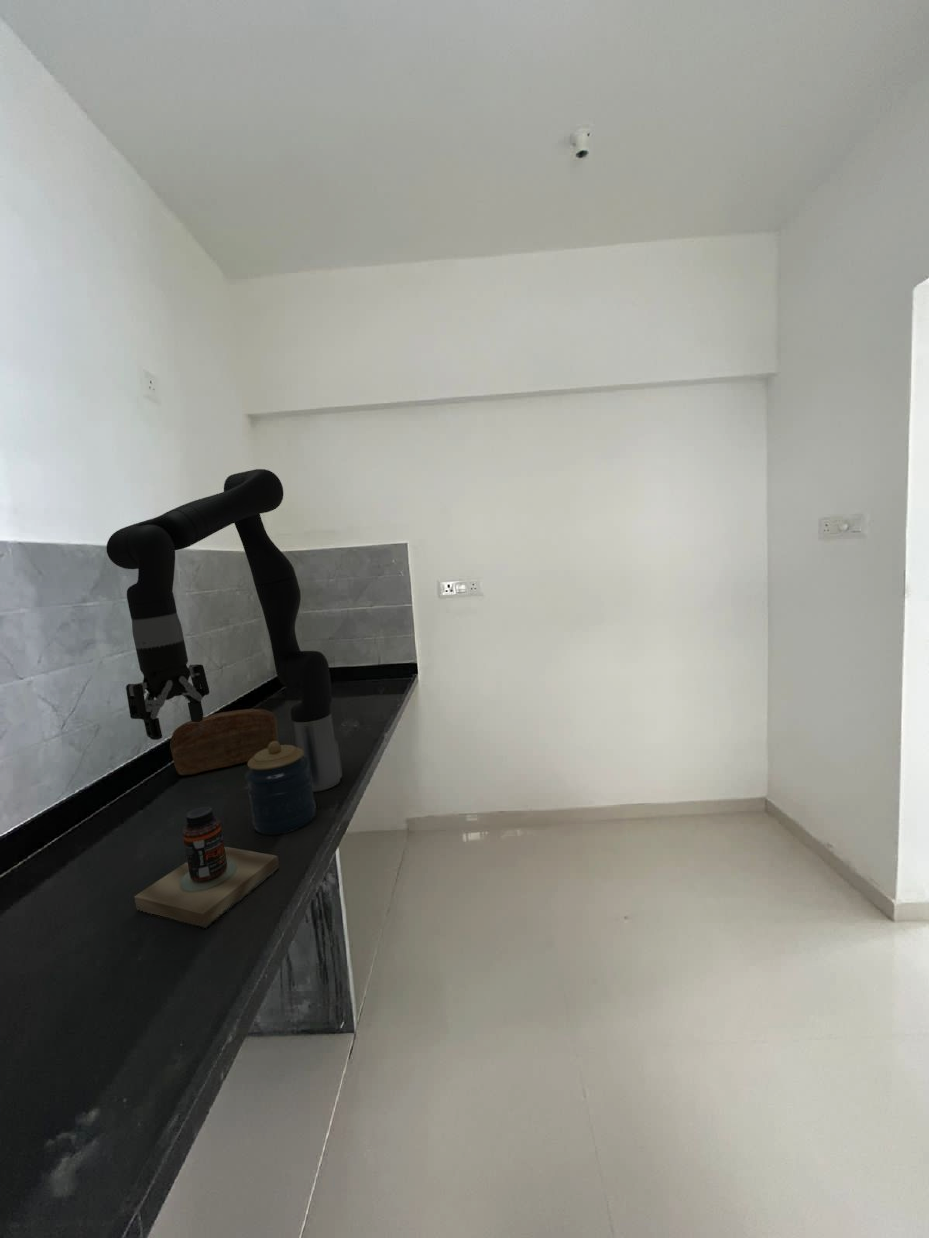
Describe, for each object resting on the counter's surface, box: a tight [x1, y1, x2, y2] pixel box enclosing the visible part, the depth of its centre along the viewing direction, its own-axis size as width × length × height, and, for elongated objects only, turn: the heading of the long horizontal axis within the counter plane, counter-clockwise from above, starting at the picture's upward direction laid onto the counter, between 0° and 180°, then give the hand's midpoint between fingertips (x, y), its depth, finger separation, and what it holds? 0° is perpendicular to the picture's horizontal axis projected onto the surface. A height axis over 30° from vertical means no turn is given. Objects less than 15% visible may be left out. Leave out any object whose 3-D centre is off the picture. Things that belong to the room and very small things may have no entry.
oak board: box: [134, 845, 280, 927], centre depth 94 cm, size 16×16×3 cm
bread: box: [169, 708, 279, 776], centre depth 154 cm, size 12×28×14 cm, turn 111°
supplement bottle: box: [182, 806, 227, 882], centre depth 93 cm, size 6×6×11 cm
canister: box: [244, 741, 317, 836], centre depth 115 cm, size 13×13×18 cm
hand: (177, 729), depth 97 cm, fingers open, 8 cm apart
